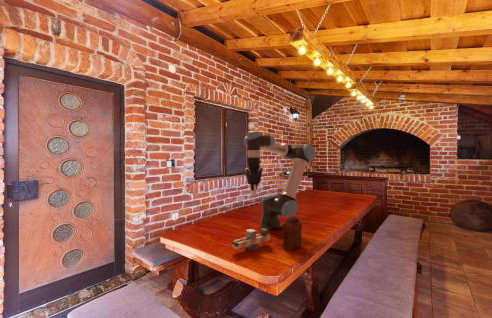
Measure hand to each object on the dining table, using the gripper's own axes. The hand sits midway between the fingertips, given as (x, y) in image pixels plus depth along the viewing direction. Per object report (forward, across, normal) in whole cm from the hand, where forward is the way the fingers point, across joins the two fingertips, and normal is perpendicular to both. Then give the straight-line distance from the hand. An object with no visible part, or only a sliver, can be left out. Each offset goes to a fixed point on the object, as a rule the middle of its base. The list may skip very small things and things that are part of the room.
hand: (254, 195), depth 155 cm
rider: (+23, -8, -8) cm, 26 cm away
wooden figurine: (+29, +12, -20) cm, 37 cm away
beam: (+28, -8, -8) cm, 31 cm away
